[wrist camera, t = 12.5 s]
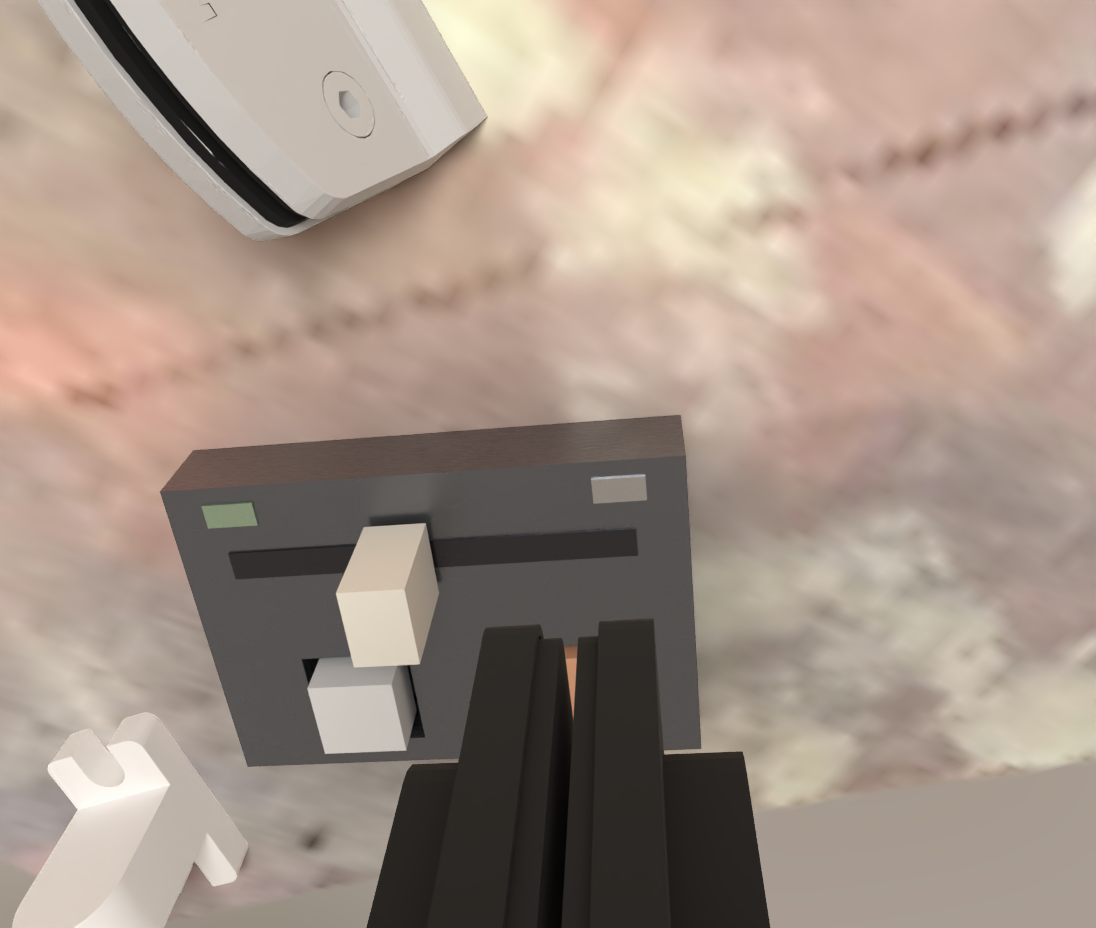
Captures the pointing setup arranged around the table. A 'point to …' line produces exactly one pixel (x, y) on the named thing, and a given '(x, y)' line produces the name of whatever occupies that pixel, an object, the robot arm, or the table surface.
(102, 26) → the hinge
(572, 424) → the control panel
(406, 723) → the grey key
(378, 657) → the cream tall block
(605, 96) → the table surface
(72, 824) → the cable organizer
